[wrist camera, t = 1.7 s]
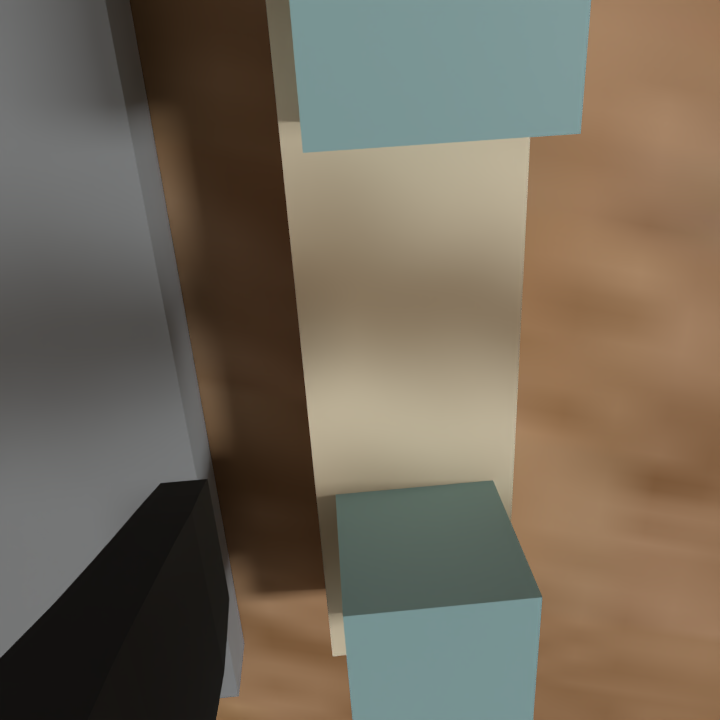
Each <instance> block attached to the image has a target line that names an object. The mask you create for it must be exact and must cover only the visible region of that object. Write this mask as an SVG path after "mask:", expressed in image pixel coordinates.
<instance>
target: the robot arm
mask: <svg viewBox="0 0 720 720" xmlns="http://www.w3.org/2000/svg"><path fill="white" fill-rule="evenodd" d="M229 599H230V598H229V592H228V587H227V582H226V576H225V571H224V565H223V560H222V554H221V549H220V544H219V538H218V533H217V527H216V522H215V516H214V511H213V506H212V500H211V495H210V489H209V484H208V479H201V480H190V481H178V482H167V483H160V484H159V485H158V486H157V488H156V489H155V490H154V491H153V492H152V493H151V494H150V495H149V496H148V498H147V499H146V500H145V501H144V502H143V503H142V504H141V505H140V507H139V508H138V509H137V510H136V511H135V512H134V513H133V515H132V516H131V517H130V518H129V519H128V520H127V522H126V523H125V524H124V525H123V526H122V527H121V529H120V530H119V531H118V532H117V533H116V534H115V536H114V537H113V538H112V539H111V540H110V541H109V542H108V544H107V545H106V546H105V547H104V548H103V549H102V551H101V552H100V553H99V554H98V555H97V556H96V557H95V559H94V560H93V561H92V562H91V563H90V564H89V565H88V566H87V567H86V568H85V570H84V571H83V572H82V573H81V574H80V575H79V576H78V577H77V578H76V579H75V581H74V582H73V583H72V584H71V585H70V586H69V587H68V588H67V589H66V591H65V592H64V593H63V594H62V595H61V596H60V597H59V598H58V599H57V600H56V602H55V603H54V604H53V605H52V606H51V607H50V608H49V609H48V610H47V611H46V612H45V613H44V614H43V615H42V616H41V617H40V618H39V619H38V620H37V621H36V622H35V623H34V624H33V625H32V626H31V627H30V628H29V629H28V630H27V631H26V632H25V633H24V634H23V635H22V636H21V637H20V638H19V639H18V640H17V641H16V642H15V643H14V644H13V645H12V646H11V647H10V648H9V650H8V651H7V652H6V653H5V654H4V655H3V656H2V657H1V658H0V720H216V716H217V710H218V705H219V699H220V694H221V688H222V683H223V677H224V670H225V657H226V644H227V630H228V614H229Z"/></svg>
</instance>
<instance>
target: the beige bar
mask: <svg viewBox="0 0 720 720" xmlns="http://www.w3.org/2000/svg"><path fill="white" fill-rule="evenodd" d="M266 9H267V19H268V29H269V39H270V48H271V58H272V68H273V78H274V88H275V97H276V107H277V117H278V127H279V136H280V146H281V156H282V166H283V176H284V185H285V195H286V205H287V215H288V224H289V234H290V244H291V254H292V264H293V273H294V283H295V293H296V303H297V312H298V322H299V332H300V342H301V351H302V361H303V371H304V381H305V391H306V400H307V410H308V420H309V430H310V439H311V449H312V459H313V469H314V479H315V488H316V498H317V508H318V518H319V527H320V537H321V547H322V557H323V567H324V576H325V586H326V596H327V606H328V615H329V625H330V635H331V645H332V654H333V656H339V655H347V654H346V644H345V633H344V622H343V609H342V593H341V576H340V560H339V544H338V528H337V511H336V494H347V493H358V492H369V491H381V490H392V489H403V488H414V487H425V486H436V485H447V484H458V483H469V482H480V481H491V480H493V482H494V484H495V486H496V489H497V491H498V493H499V496H500V498H501V501H502V503H503V505H504V508H505V510H506V512H507V515H508V517H509V520H510V522H511V512H512V492H513V472H514V451H515V431H516V411H517V391H518V371H519V350H520V330H521V310H522V290H523V270H524V250H525V229H526V209H527V189H528V169H529V149H530V137H524V138H510V139H495V140H481V141H467V142H452V143H438V144H423V145H409V146H395V147H380V148H366V149H352V150H337V151H323V152H308V153H303V149H302V138H301V127H300V116H299V104H298V93H297V82H296V71H295V60H294V49H293V38H292V27H291V16H290V5H289V0H266Z"/></svg>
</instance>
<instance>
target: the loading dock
mask: <svg viewBox="0 0 720 720" xmlns="http://www.w3.org/2000/svg"><path fill="white" fill-rule="evenodd" d="M201 479H208V484H209V489H210V495H211V500H212V506H213V511H214V516H215V522H216V527H217V533H218V538H219V544H220V549H221V554H222V560H223V565H224V571H225V576H226V582H227V587H228V592H229V598H230V599H229V614H228V630H227V644H226V657H225V670H224V677H223V683H222V688H221V694H220V698H225V697H235V696H239V689H240V680H241V670H242V661H243V651H244V639H243V633H242V628H241V622H240V617H239V611H238V605H237V600H236V594H235V589H234V583H233V577H232V572H231V566H230V561H229V555H228V549H227V544H226V538H225V533H224V527H223V521H222V516H221V510H220V505H219V499H218V493H217V488H216V482H215V477H214V471H213V465H212V460H211V454H210V449H209V443H208V437H207V432H206V426H205V421H204V415H203V409H202V404H201V398H200V392H199V387H198V381H197V376H196V370H195V364H194V359H193V353H192V348H191V342H190V336H189V331H188V325H187V320H186V314H185V308H184V303H183V297H182V292H181V286H180V280H179V275H178V269H177V264H176V258H175V252H174V247H173V241H172V236H171V230H170V224H169V219H168V213H167V208H166V202H165V196H164V191H163V185H162V180H161V174H160V168H159V163H158V157H157V152H156V146H155V140H154V135H153V129H152V124H151V118H150V112H149V107H148V101H147V96H146V90H145V84H144V79H143V73H142V68H141V62H140V56H139V51H138V45H137V40H136V34H135V28H134V23H133V17H132V12H131V6H130V0H0V658H1V657H2V656H3V655H4V654H5V653H6V652H7V651H8V650H9V648H10V647H11V646H12V645H13V644H14V643H15V642H16V641H17V640H18V639H19V638H20V637H21V636H22V635H23V634H24V633H25V632H26V631H27V630H28V629H29V628H30V627H31V626H32V625H33V624H34V623H35V622H36V621H37V620H38V619H39V618H40V617H41V616H42V615H43V614H44V613H45V612H46V611H47V610H48V609H49V608H50V607H51V606H52V605H53V604H54V603H55V602H56V600H57V599H58V598H59V597H60V596H61V595H62V594H63V593H64V592H65V591H66V589H67V588H68V587H69V586H70V585H71V584H72V583H73V582H74V581H75V579H76V578H77V577H78V576H79V575H80V574H81V573H82V572H83V571H84V570H85V568H86V567H87V566H88V565H89V564H90V563H91V562H92V561H93V560H94V559H95V557H96V556H97V555H98V554H99V553H100V552H101V551H102V549H103V548H104V547H105V546H106V545H107V544H108V542H109V541H110V540H111V539H112V538H113V537H114V536H115V534H116V533H117V532H118V531H119V530H120V529H121V527H122V526H123V525H124V524H125V523H126V522H127V520H128V519H129V518H130V517H131V516H132V515H133V513H134V512H135V511H136V510H137V509H138V508H139V507H140V505H141V504H142V503H143V502H144V501H145V500H146V499H147V498H148V496H149V495H150V494H151V493H152V492H153V491H154V490H155V489H156V488H157V486H158V485H159V484H160V483H167V482H178V481H190V480H201Z"/></svg>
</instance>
